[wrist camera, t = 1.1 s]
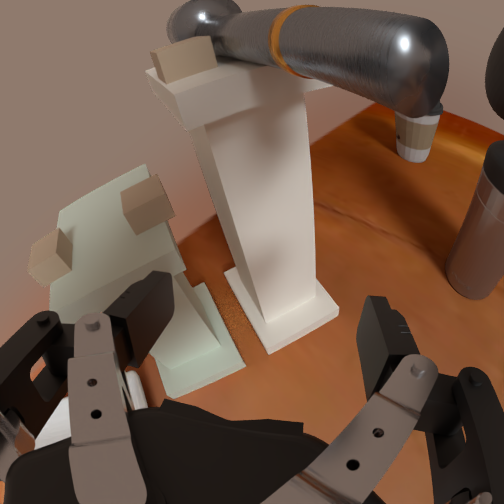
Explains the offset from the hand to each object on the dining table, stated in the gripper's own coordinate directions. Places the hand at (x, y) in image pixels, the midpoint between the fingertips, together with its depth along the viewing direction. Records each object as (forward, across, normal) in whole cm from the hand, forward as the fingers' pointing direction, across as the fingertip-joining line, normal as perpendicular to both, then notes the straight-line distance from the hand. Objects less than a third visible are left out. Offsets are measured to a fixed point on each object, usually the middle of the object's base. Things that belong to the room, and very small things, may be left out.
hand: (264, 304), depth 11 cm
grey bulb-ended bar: (+6, +2, -11) cm, 12 cm away
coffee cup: (+54, -26, -7) cm, 61 cm away
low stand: (+18, +11, +19) cm, 28 cm away
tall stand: (+24, 0, +14) cm, 27 cm away
